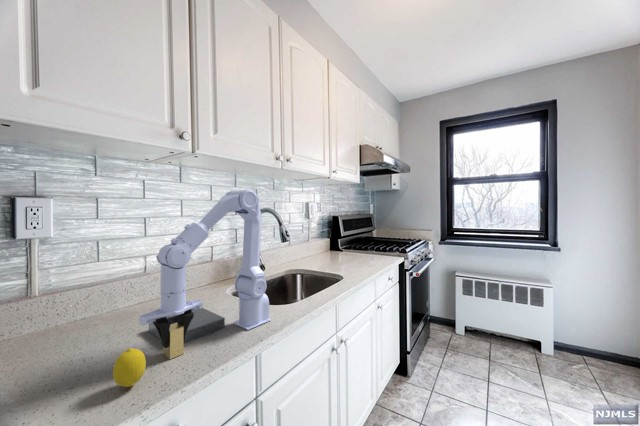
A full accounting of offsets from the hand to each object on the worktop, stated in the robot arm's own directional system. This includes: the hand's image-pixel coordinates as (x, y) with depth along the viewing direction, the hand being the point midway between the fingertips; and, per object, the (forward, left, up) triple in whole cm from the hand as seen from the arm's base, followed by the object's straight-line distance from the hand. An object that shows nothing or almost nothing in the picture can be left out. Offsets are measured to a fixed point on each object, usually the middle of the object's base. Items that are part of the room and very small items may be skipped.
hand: (173, 343), depth 66 cm
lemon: (+11, +6, -3) cm, 13 cm away
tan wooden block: (0, 0, -3) cm, 3 cm away
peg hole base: (-9, -12, -3) cm, 15 cm away
